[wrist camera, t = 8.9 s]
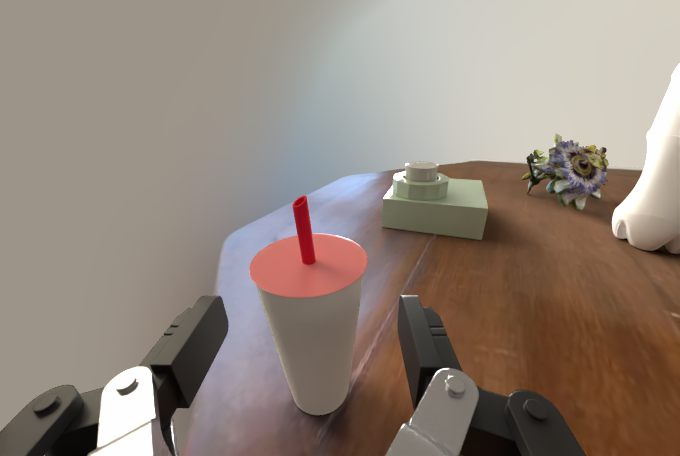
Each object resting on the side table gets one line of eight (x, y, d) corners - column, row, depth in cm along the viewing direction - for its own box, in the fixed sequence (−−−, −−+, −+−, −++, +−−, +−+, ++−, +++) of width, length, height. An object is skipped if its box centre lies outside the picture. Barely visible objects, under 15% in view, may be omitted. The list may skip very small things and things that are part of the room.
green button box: (381, 227, 36) (383, 183, 34) (398, 198, 46) (401, 162, 44) (481, 240, 32) (492, 191, 30) (476, 205, 42) (484, 167, 40)
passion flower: (563, 241, 42) (574, 191, 34) (501, 207, 50) (497, 160, 42) (618, 193, 42) (642, 132, 34) (547, 167, 50) (553, 112, 42)
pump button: (402, 183, 35) (403, 167, 34) (407, 175, 38) (408, 161, 38) (435, 185, 34) (437, 169, 33) (437, 177, 37) (439, 162, 36)
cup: (278, 450, 14) (230, 231, 8) (272, 360, 18) (239, 184, 13) (379, 417, 15) (391, 210, 10) (349, 341, 19) (347, 174, 14)
